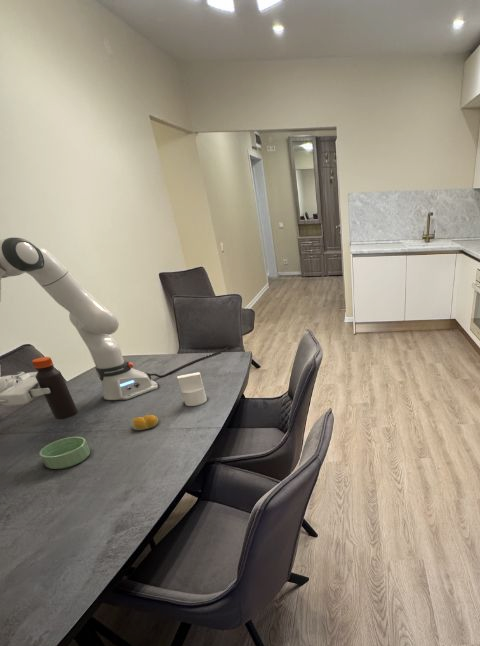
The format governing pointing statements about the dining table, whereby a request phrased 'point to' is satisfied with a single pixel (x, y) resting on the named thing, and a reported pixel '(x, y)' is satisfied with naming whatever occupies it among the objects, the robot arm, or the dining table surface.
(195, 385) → the cylinder with rectangular tab
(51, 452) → the bowl
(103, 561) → the dining table surface
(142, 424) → the bread roll
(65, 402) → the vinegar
